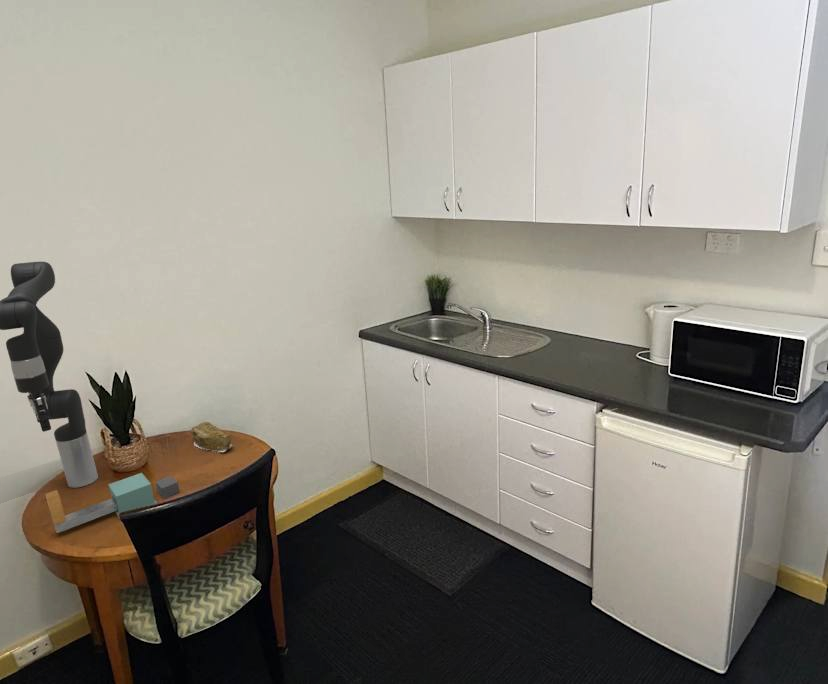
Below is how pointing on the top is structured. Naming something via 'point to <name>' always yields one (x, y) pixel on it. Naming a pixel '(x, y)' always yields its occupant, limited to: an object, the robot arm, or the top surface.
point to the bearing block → (132, 493)
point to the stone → (210, 437)
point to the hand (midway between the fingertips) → (44, 425)
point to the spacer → (167, 487)
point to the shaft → (77, 517)
